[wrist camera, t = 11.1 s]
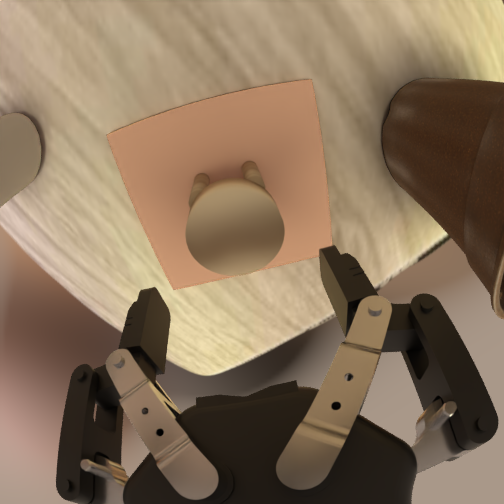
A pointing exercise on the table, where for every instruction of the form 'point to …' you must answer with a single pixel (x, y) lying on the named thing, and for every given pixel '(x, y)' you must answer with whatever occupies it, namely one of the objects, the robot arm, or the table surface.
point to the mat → (228, 169)
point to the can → (17, 154)
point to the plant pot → (455, 165)
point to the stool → (233, 223)
